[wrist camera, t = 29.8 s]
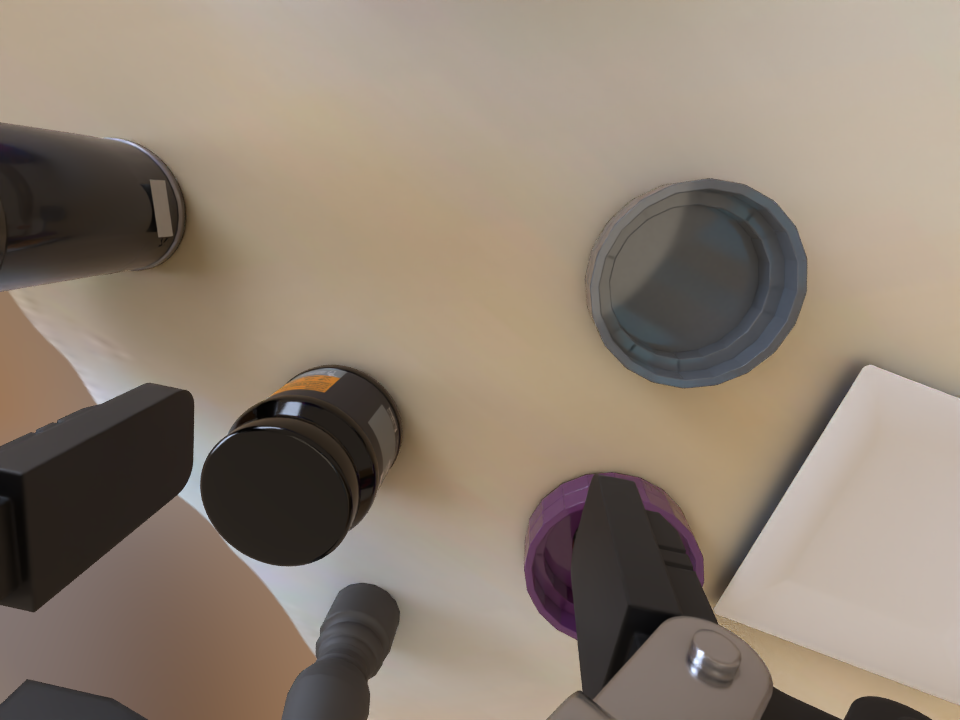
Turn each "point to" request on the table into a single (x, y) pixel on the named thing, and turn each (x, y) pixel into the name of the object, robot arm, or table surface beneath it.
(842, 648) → the plate
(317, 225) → the table surface
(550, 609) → the plum bowl
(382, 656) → the candle holder
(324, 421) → the supplement container
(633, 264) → the grey bowl
